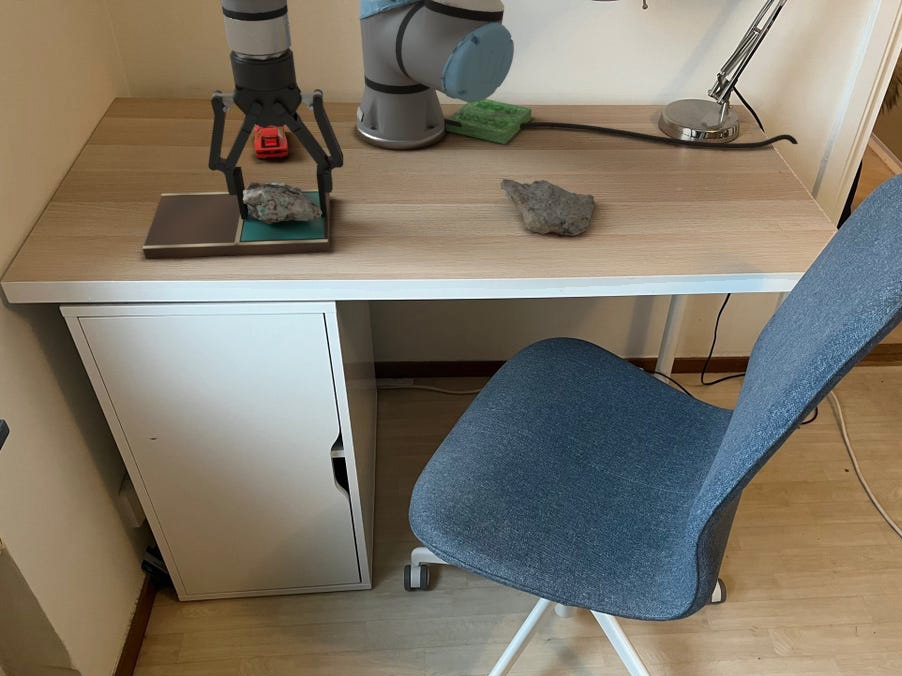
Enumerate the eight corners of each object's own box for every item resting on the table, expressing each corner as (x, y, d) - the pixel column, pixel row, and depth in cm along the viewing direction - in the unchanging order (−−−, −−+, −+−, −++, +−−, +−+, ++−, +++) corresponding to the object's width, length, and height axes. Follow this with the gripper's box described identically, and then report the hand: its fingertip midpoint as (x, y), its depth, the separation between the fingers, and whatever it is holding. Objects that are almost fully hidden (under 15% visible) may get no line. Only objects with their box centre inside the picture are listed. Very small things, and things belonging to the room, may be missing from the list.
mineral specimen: (261, 244, 103) (254, 204, 99) (230, 206, 110) (223, 167, 106) (329, 226, 107) (325, 187, 103) (294, 191, 114) (289, 152, 110)
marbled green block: (530, 119, 141) (531, 105, 139) (505, 144, 133) (505, 130, 131) (474, 107, 144) (475, 93, 143) (446, 130, 136) (446, 116, 134)
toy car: (254, 132, 133) (251, 114, 130) (285, 130, 134) (282, 112, 132) (256, 163, 124) (253, 144, 122) (289, 161, 125) (287, 142, 123)
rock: (578, 221, 106) (484, 184, 111) (570, 249, 108) (479, 211, 113) (613, 196, 116) (526, 163, 121) (606, 222, 119) (521, 189, 123)
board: (330, 198, 117) (329, 188, 115) (328, 251, 106) (327, 241, 104) (164, 203, 114) (161, 193, 113) (145, 258, 103) (142, 248, 102)
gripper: (355, 38, 98) (365, 198, 113) (168, 39, 95) (204, 202, 110) (355, 59, 93) (366, 224, 108) (158, 60, 90) (197, 229, 105)
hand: (284, 213), depth 109 cm, fingers closed on mineral specimen, 10 cm apart
